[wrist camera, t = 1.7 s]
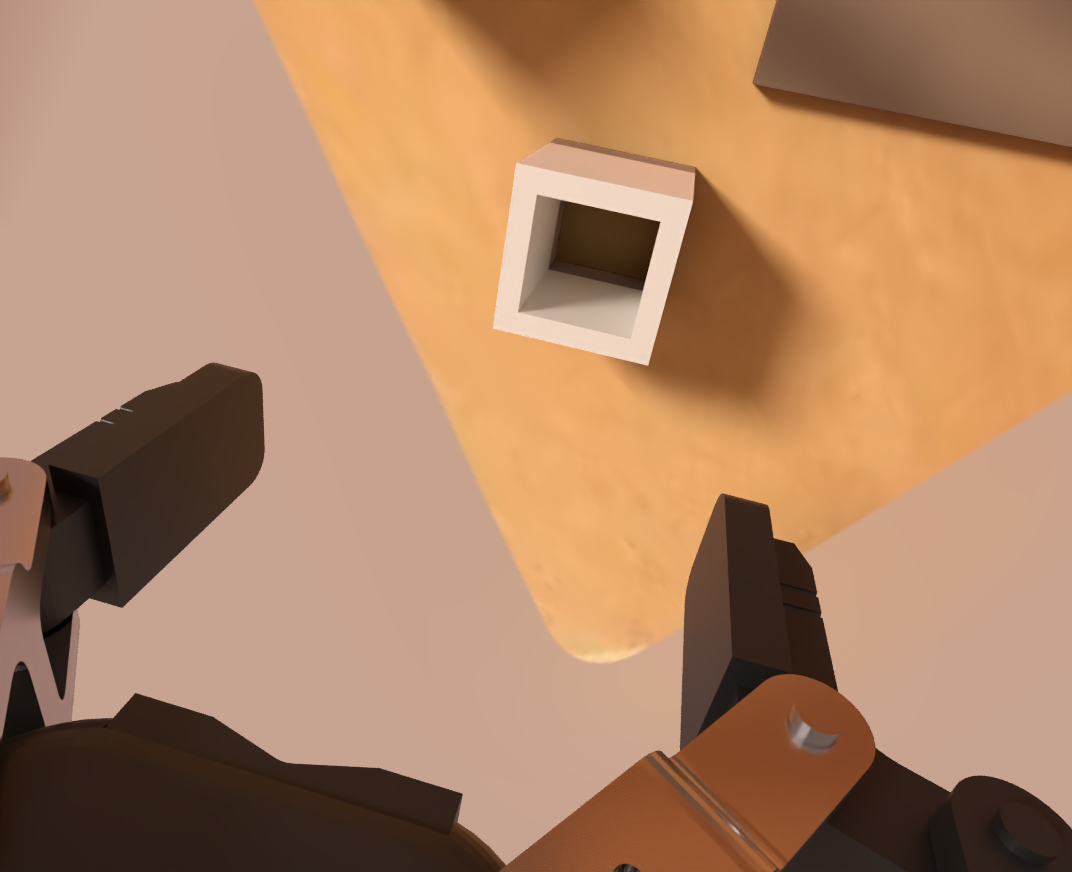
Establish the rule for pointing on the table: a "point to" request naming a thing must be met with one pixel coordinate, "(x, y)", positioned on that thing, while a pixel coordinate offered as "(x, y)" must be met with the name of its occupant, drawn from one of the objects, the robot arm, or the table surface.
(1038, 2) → the pin plate
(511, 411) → the table surface
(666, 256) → the sleeve
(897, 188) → the table surface
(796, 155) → the table surface
